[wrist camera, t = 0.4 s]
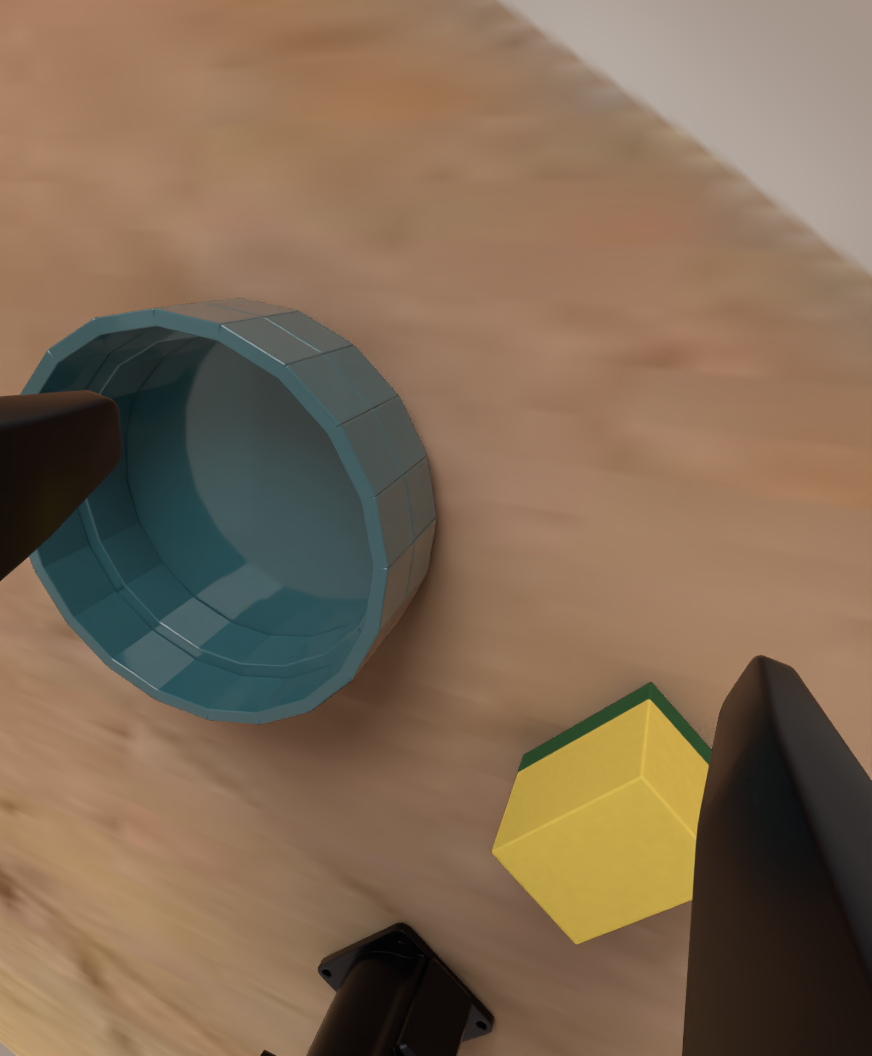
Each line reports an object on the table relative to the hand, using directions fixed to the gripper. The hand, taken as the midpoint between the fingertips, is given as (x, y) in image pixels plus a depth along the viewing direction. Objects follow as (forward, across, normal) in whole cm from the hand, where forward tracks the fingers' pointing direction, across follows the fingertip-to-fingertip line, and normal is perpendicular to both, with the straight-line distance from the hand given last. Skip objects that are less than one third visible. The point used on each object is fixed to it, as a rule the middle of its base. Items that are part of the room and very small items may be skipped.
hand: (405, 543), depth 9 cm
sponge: (+12, -7, +15) cm, 20 cm away
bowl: (+13, +9, +10) cm, 18 cm away
